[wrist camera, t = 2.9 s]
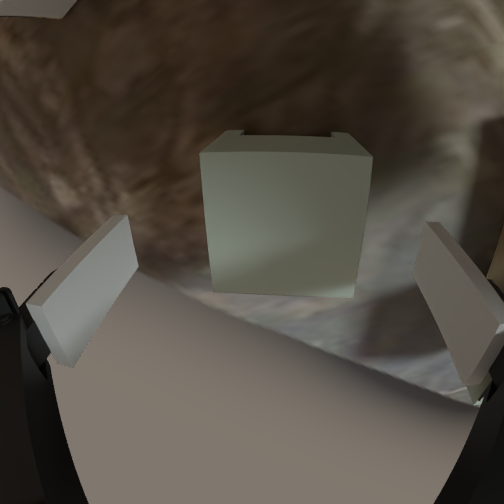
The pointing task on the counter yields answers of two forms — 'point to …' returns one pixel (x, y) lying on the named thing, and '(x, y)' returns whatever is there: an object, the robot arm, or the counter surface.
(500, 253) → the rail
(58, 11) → the medicine bottle
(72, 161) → the counter surface
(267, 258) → the block
